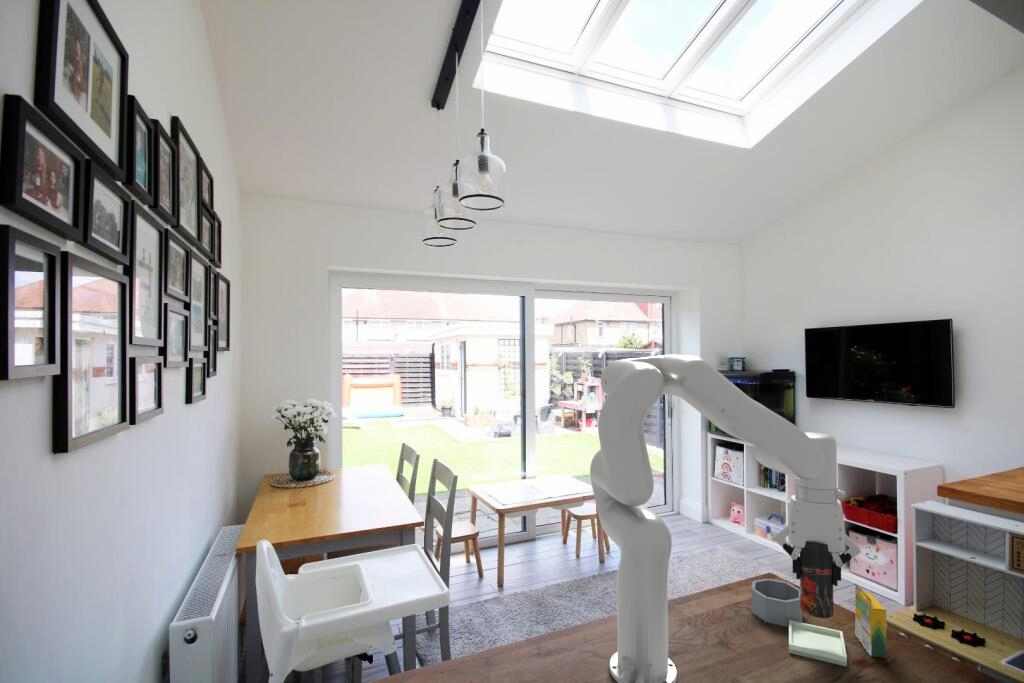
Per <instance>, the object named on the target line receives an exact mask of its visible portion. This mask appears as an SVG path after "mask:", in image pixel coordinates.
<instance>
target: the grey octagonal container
mask: <svg viewBox="0 0 1024 683" xmlns="http://www.w3.org/2000/svg"><path fill="white" fill-rule="evenodd" d="M751 613H752V614H753V615H755V616H756V617H758V618H759V619H760V620H762V621H763V620H764V622H765V623H767V622H768V624H773V625H776V624H777V626H781V627H785V628H789V620H792V621H796V622H801V623H804V622H803V621H804V620H803V613H804V612H803V611H802V610H801V608H800V588H798V587H796V586H794V585H793V584H791V583H790V582H788V581H783V580H777V579H771V578H763V579H757V580H753V581H752V583H751Z"/></svg>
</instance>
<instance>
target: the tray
mask: <svg viewBox="0 0 1024 683" xmlns="http://www.w3.org/2000/svg"><path fill="white" fill-rule="evenodd" d="M788 652H789V654H794V655H797V656H800V657H801V656H802V657H807V658H810V659H813V660H816V661H817V660H818V661H822V662H826V663H830V664H834V665H839V666H842V667H848V655H847V651H846V644H845V639H844V633H843V631H842V630H837V629H832V628H829V627H824V626H819V625H814V624H809V623H805V622H803V623H801V622H796V621H792V620H789V627H788Z"/></svg>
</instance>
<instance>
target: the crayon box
mask: <svg viewBox="0 0 1024 683" xmlns="http://www.w3.org/2000/svg"><path fill="white" fill-rule="evenodd" d="M854 584H855V588H854V589H855V607H854V611H855V614H854V615H855V619H854V622H855V623H854V624H855V625H854V627H855V628H854V636H855V635H856V637H857V638H858V639H859V640H858V639H857V638H856V637H855V638H856V639H857V640H858V642H859V641H860V642H861V643H862V644H861V643H860V642H859V643H860V644H861V646H862V645H863V646H862V647H863V648H864V650H865V649H866V650H865V651H866V652H867V653H868V655H869V656H870V657H873V658H875V657H876V658H887V609H886V608H885V607H884V606H883V605H882V604H881V603H880V602H879V601H878V600H877V598H875V597H874V596H873V594H871V593H870V592H865V591H864V590H863V589H862V587H860V586H859V585H858V584H857V583H856V582H855V583H854Z"/></svg>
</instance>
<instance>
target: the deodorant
mask: <svg viewBox="0 0 1024 683" xmlns="http://www.w3.org/2000/svg"><path fill="white" fill-rule="evenodd" d="M799 557H800V579H799V589H800V608H801V610H802V611H803V613H805V614H807V615H809V616H811V617H815V618H820V619H830V618H832V617H833V616H834V585H833V561H834V559H833V556H832V554H831V552H829V551H828V545H827V544H822V543H815V542H808V541H806V543H805V547H804V548H802V550H801V552H800V554H799Z"/></svg>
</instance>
